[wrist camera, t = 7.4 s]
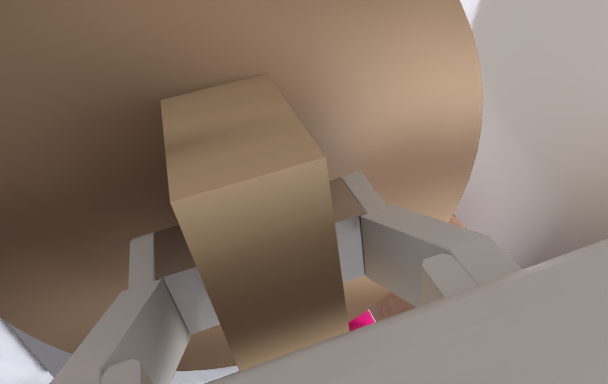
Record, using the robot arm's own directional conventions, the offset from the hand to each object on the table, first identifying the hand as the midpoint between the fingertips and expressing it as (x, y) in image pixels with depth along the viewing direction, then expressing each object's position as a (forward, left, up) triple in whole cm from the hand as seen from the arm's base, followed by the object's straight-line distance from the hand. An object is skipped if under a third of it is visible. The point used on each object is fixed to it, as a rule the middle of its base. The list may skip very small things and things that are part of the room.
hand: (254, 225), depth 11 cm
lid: (0, 0, -2) cm, 2 cm away
